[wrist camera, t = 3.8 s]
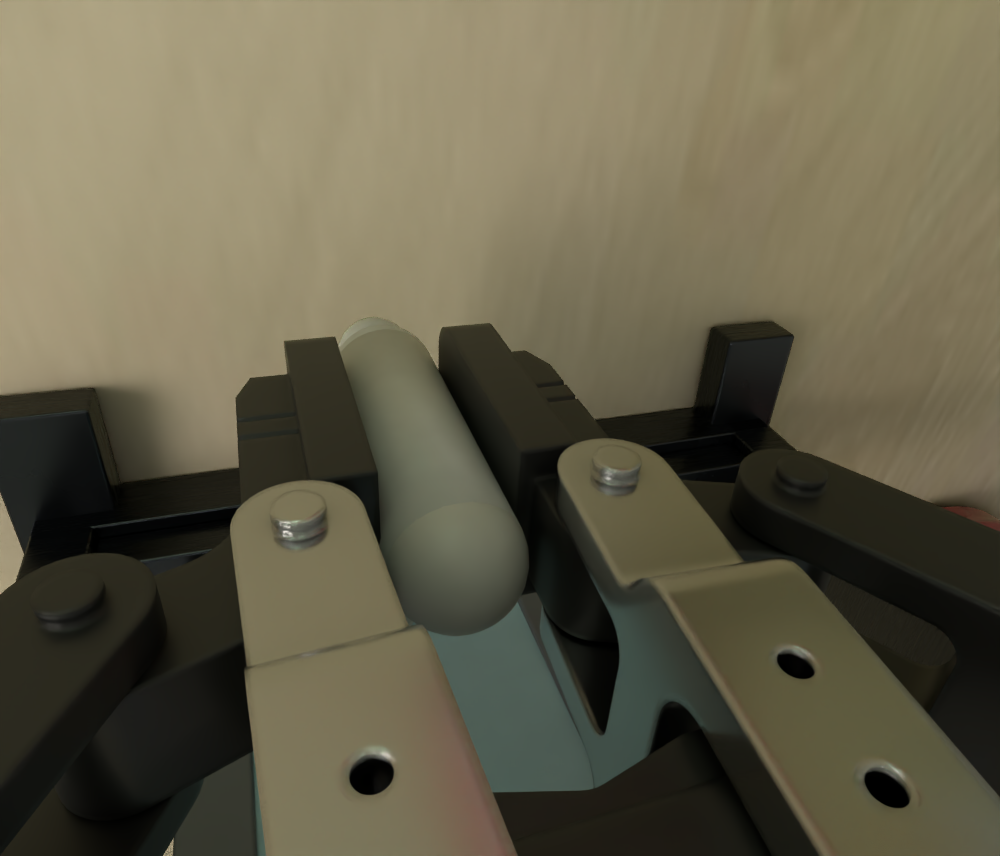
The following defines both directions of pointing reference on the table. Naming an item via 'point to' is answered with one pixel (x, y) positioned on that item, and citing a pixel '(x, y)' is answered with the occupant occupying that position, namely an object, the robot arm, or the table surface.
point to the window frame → (216, 495)
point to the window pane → (435, 591)
